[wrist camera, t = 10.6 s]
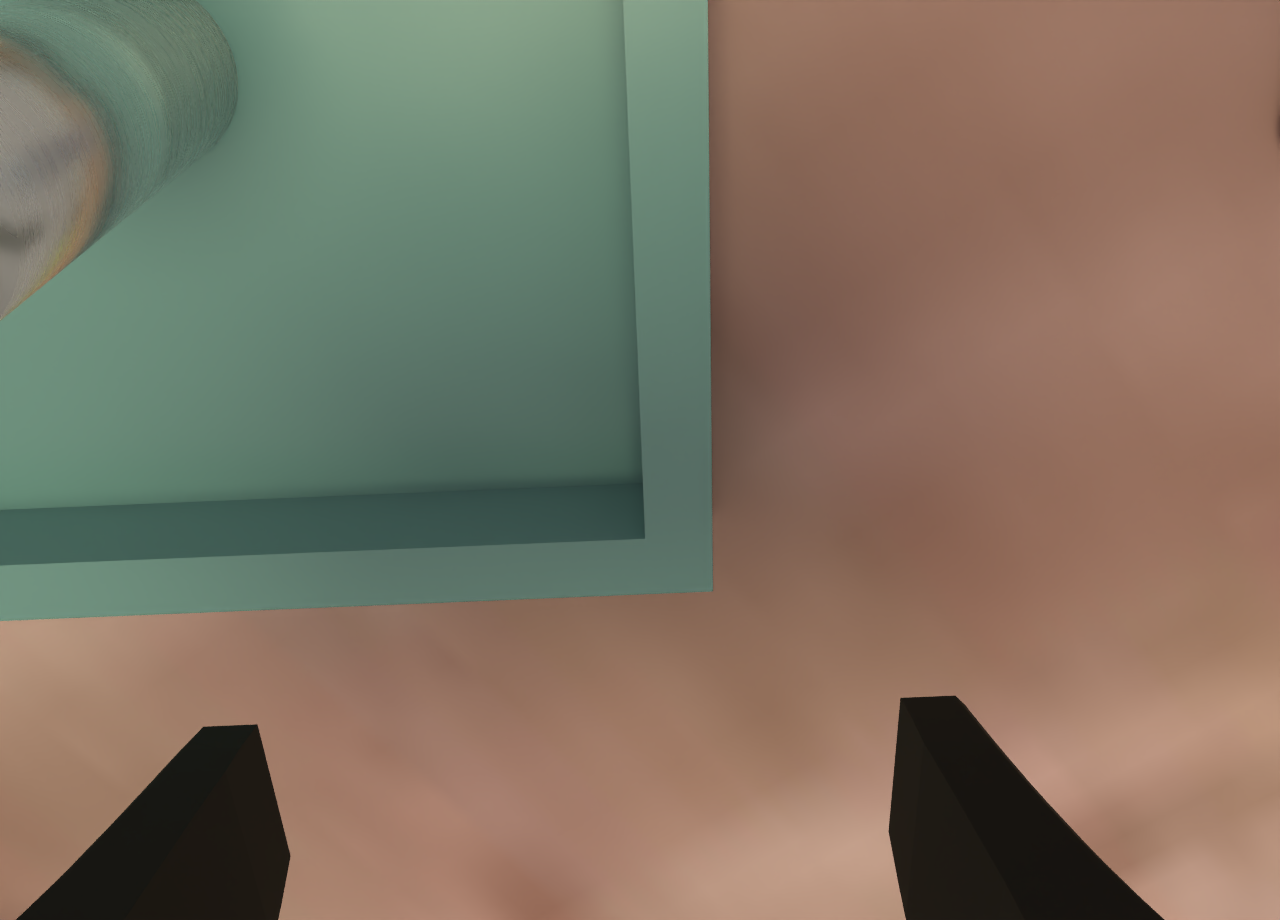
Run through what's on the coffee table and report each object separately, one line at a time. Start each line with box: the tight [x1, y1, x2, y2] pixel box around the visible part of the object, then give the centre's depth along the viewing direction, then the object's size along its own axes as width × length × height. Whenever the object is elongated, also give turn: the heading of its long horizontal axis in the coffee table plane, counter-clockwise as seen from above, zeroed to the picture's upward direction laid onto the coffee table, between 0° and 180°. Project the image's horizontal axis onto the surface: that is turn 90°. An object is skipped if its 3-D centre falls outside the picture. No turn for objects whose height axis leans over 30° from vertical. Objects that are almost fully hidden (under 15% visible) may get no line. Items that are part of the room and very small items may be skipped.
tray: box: [0, 0, 713, 621], centre depth 18 cm, size 18×18×3 cm
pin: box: [0, 0, 238, 321], centre depth 15 cm, size 3×3×8 cm
